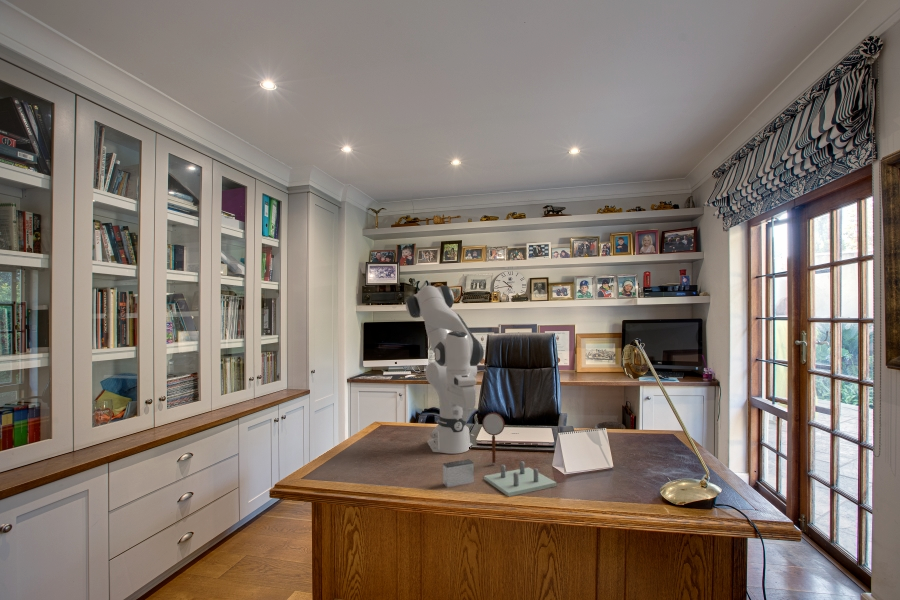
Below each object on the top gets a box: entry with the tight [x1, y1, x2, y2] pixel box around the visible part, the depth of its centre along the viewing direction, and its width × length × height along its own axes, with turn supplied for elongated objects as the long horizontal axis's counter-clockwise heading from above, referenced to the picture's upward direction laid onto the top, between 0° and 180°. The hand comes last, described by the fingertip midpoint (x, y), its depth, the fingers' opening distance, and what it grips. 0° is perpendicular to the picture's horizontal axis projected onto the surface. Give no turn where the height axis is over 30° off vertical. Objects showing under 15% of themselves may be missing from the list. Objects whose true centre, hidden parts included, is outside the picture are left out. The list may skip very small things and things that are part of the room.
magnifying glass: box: [481, 412, 505, 466], centre depth 163 cm, size 9×2×20 cm, turn 74°
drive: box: [442, 458, 475, 488], centre depth 145 cm, size 4×10×7 cm, turn 115°
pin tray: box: [483, 460, 557, 497], centre depth 145 cm, size 16×19×5 cm
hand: (460, 417), depth 146 cm, fingers open, 8 cm apart
